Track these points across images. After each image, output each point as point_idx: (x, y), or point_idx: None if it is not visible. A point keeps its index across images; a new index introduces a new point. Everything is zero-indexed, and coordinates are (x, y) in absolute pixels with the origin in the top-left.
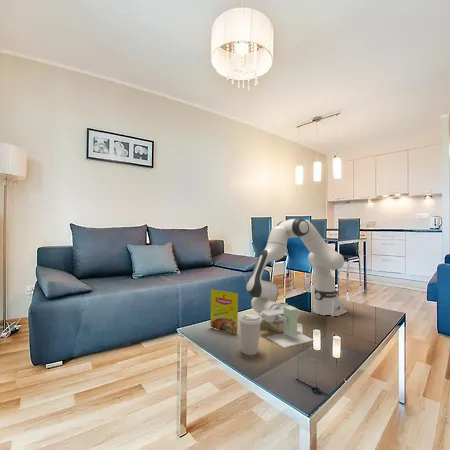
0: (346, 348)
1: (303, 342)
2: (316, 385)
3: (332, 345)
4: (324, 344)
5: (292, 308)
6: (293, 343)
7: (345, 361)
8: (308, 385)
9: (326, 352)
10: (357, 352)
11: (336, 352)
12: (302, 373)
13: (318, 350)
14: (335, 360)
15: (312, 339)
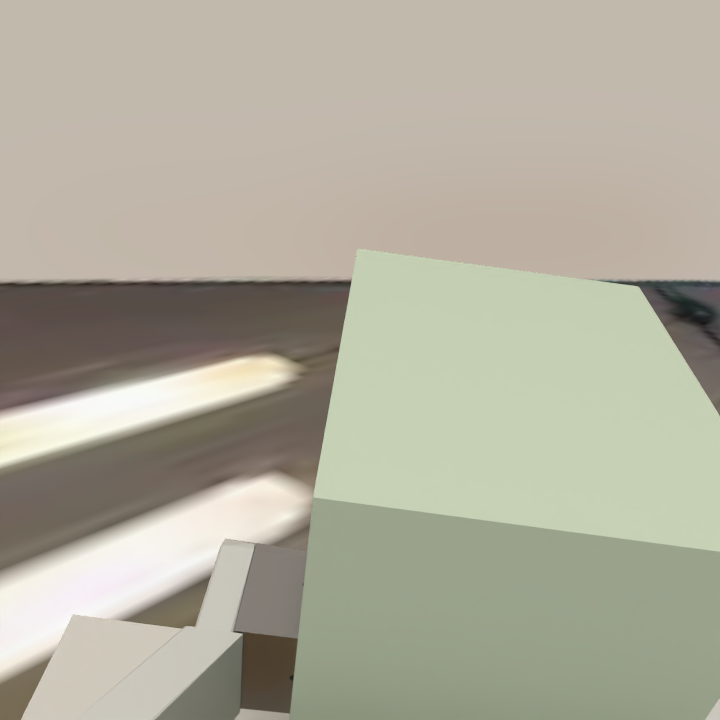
0: (23, 375)
1: None
2: (668, 322)
3: (46, 453)
4: (86, 504)
5: (480, 317)
6: None
7: (284, 324)
8: (714, 337)
9: (268, 424)
10: (48, 322)
11: (190, 388)
12: None
13: (298, 473)
14: (335, 353)
15: (75, 631)
